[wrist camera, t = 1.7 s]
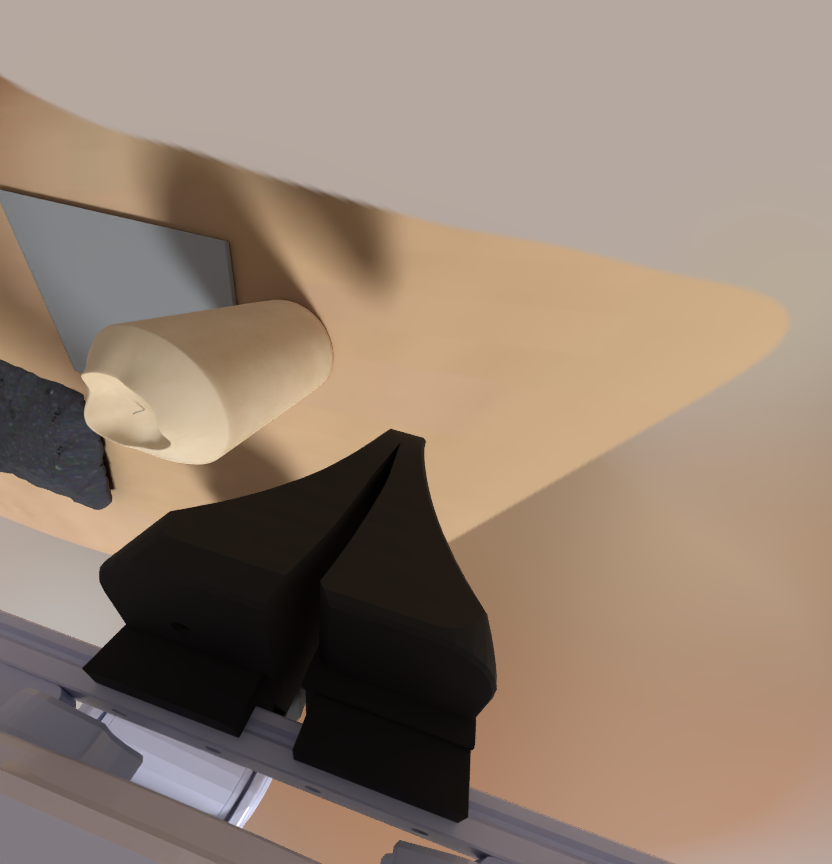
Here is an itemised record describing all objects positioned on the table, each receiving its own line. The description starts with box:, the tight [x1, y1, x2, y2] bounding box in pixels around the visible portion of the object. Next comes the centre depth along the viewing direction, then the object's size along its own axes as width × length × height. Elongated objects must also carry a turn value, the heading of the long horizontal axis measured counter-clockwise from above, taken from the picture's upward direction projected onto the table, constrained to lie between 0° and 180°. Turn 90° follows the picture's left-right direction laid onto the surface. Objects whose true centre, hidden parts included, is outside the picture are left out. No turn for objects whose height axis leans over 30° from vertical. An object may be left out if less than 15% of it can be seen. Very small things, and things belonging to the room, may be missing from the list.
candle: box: [81, 300, 333, 465], centre depth 14 cm, size 6×6×10 cm
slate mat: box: [0, 190, 237, 373], centre depth 19 cm, size 14×11×1 cm
